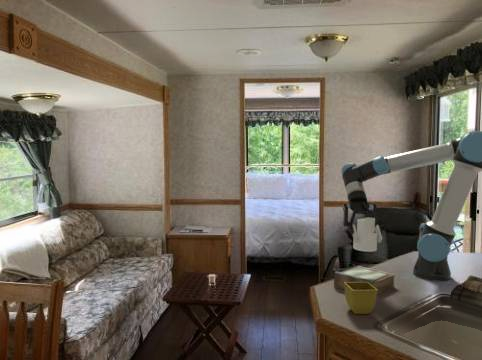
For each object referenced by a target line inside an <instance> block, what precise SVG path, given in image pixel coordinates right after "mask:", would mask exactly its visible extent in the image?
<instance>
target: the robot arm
mask: <svg viewBox="0 0 482 360" xmlns="http://www.w3.org/2000/svg"><path fill="white" fill-rule="evenodd" d="M451 161H453V164H454V166H453V168H452V171H451V174H450V175H449V178H448V181H447V183H446V184H445V188H444V190H443V191H442V194H441V197H440V199H439V201H438V204H437V207H436V209H435V211H434V213H433V216H432V218H431V220H429V221H427V222H425V223H424V222H422V223H420V225H419V228H418V229H419V237H418V240H417V243H416V249H417V251H418V254H417V255H418V256H417V259H416V260H415V264H414V265H413V268H412V270H413V271H412V273H413V275H414V276H415V277H418V278H421V279H424V280H429V281H440V282H441V281H443V282H444V281H448V280H451V279H452V277H451V275H452V273H451V268H450V265H449V262H448V256H449V255H450V252H451V246H452V244H453V241H454V239H455V236H456V235H457V233H456V232H455V229H454V228H455V226H456V224H457V222H458V219H459V218H460V217H459V216H460V215H461V213H462V210H463V208H464V206H465V203H466V201H467V198H468V197H469V194H470V192H471V189H472V188H473V185H474V183H475V181H476V178H477V176H478V174H479V173H480V172H482V130H481V131H480V130H472V131H469V132H466V133H465V134H464V135H462V136H459V137H457V138H453V139H450V140H449V141H448V142H446V143H442V144H437V145H433V146H429V147H424V148H419V149H415V150H411V151H406V152H402V153H396V154H393V155H390V156H383V155H379V156H378V157H374V158H373V159H370V160H367V161H365V162H363V163H360V164H358V165H357V163H355V162H354V163H353V162H351V163H346V164H344V165H343V166H342V167H341V177H342V181H343V186H344V188H345V191H346V192H345V193H346V196H347V201H348V204H347V203H344V204H343V206H342V211H343V223H342V224H343V227H347V229H348V230H349V234H350V235H352V238H353V240H354V242H357V240H358V236H357V227H356V224H354V221H355V219H356V218H355V217H356V215H364V216H365V217H366V218H367V217H370V218H375V231H374V233H376V234H377V244H378V243H380V244H381V242H382V241H383V236H382V234H383V229H382V228H383V227H384V225H385V220H384V218H383V216H382V215H381V213H380V212H379V210H378V207H377V204H376V203H373V204H370V203H369V201H368V198H367V193H366V191H365V187H364V184H363V183H364V182H366V181H369V180H372V179H373V178H378V177H379V176H383V175H388V174H392V173H396V172H401V171H405V170H410V169H414V168H415V169H416V168H421V167H425V166H431V165H435V164H440V163H445V162H451ZM349 210H351V211H352V213H351V217H350V220H349Z"/></svg>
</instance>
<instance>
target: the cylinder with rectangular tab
mask: <svg viewBox="0 0 482 360" xmlns="http://www.w3.org/2000/svg"><path fill="white" fill-rule="evenodd" d="M356 223H357V224H356V232H357V236H358V240H357V242H354V239H353V241H352V243H353V244H352V248H353V249H354V250H356V251H360V252H367V253H370V252H372V253H373V252H376V251H377V249H378V239H377V234H376V232H375V218H370V217H367V216H366V217H363V218H358V219H357V222H356Z"/></svg>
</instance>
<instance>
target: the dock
mask: <svg viewBox="0 0 482 360" xmlns="http://www.w3.org/2000/svg"><path fill="white" fill-rule="evenodd" d="M333 273H334V277H333V287H334V288H336V289H340V290H344V291H345V286H344V282H369V283H370V284H371V285H372V286H373V287H375V288H376V289H377V290H378V291H377V296H378V295H380V294H383V293H384V292H386V291H388V290H390V289H393V288H394V287H395V274H394V273H393V274H392V273H389V272H385V271H381V270H378V269H373V268H369V267H364V266H361V265H358V266H357V265H356V266H355V267H352V268H349V269H346V270H343V271H334V272H333Z"/></svg>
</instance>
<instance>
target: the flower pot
mask: <svg viewBox="0 0 482 360" xmlns="http://www.w3.org/2000/svg"><path fill="white" fill-rule="evenodd" d="M344 286H345V290H344V295H345V296H344V297H345V300H346V303H347V305H348V308H349V309H350V310H351V311H352V313H354V314H355V315H369V314H370V313H371V312H372V311H373V309H374V307H375V306H376V303H377V296H378V295H377V291H378V290H377V289H376V288H375V287H373V286H372V285H371V284H370V283H369V282H344Z"/></svg>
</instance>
